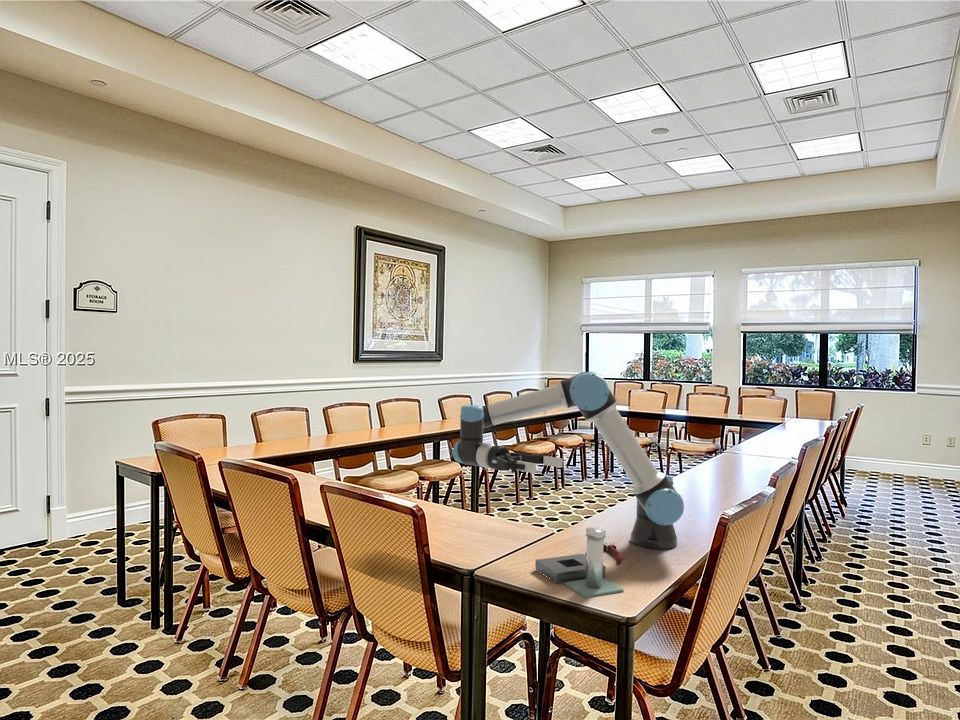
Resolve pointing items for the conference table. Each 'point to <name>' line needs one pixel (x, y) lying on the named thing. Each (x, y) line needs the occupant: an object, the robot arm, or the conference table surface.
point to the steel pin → (594, 557)
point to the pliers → (612, 551)
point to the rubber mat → (589, 592)
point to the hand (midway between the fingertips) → (548, 465)
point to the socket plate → (564, 568)
